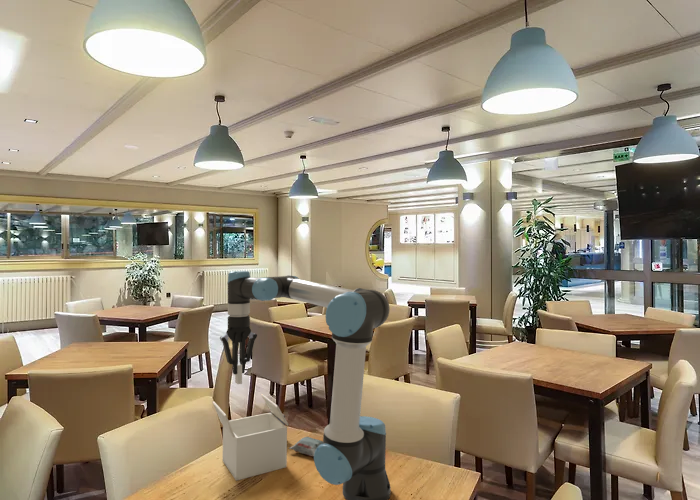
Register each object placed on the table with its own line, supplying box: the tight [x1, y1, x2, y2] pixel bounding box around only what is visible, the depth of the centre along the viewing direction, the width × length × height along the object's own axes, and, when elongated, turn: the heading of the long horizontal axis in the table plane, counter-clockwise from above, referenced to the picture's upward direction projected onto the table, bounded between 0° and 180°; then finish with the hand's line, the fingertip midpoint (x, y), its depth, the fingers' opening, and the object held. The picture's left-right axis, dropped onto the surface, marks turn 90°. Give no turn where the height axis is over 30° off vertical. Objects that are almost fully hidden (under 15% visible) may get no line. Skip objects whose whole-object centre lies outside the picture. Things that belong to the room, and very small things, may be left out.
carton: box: [222, 412, 288, 481], centre depth 155 cm, size 16×18×14 cm
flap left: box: [212, 400, 235, 438], centre depth 149 cm, size 15×8×1 cm
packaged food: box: [288, 436, 323, 457], centre depth 165 cm, size 9×12×5 cm
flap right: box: [260, 393, 289, 427], centre depth 159 cm, size 15×8×1 cm
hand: (238, 383), depth 152 cm, fingers closed
